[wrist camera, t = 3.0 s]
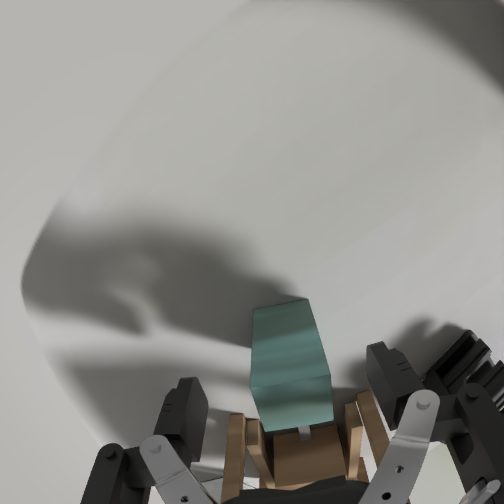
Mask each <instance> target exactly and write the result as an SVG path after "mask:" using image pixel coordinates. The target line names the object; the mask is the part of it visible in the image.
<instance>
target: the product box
mask: <svg viewBox="0 0 504 504" xmlns="http://www.w3.org/2000/svg"><path fill="white" fill-rule="evenodd" d="M222 483H223V478H219V479H215V480H211V481H207V482H202V485H203V486H204V487H205V489H206V490H207V491H208V492H209V494H210V495H211V496H212V497H213V498H214V499H215V500H216V502H217V503H218V504H220V502H221V493H222ZM243 489H256V488H253V487H251V486H248V485H246V484H244V483H243Z"/></svg>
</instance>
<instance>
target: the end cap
mask: <svg viewBox="0 0 504 504" xmlns="http://www.w3.org/2000/svg"><path fill="white" fill-rule="evenodd" d="M491 352H492V351H491V349H490V348H489V347H488V346H487V345H486V344H485V343H484V342H483V341H482V340H481V339H480V338H479V339H478V338H477V336H476V335H475V334H474V333H473V332H472V331H471V330H469V331H467V332H465V333H464V334H463V335H462V336H461V337H460V339H459V340H458V341H457V342H456V343H455V344H454V345H453V346H452V347H451V348H450V349H449V350H448V351H447V352H446V353H445V354H444V355H443V356H442V357H441V358H440V359H439V360H438V361H437V362H436V363H435V364H434V365H433V366H432V368H431V369H430V370H429V371H428V373H427V375H426V378H425V380H424V382H423V385H424V387H425V388H426V390H430V391H433V392H435V393H436V394H437V395H438V396H445V395H452V394H458V391H459V389H460V388H461V387H462V386H463V385H465V384H468V383H477V384H480V385H481V386H483V387H484V388H485V390H486V391H487V393H488V394H489V396H490V397H491V399H492V400H493V402H494V403H495V405H496V406H497V408H498V410H500V409H501V408H502V407H503V406H504V364H503V362H502V361H501V360H499V362H498V363H497V364H496V365H494V363H493V361H492V360H491V358H490V353H491ZM500 413H501V414H502V416H503V418H504V408H503V409H502V410H501V411H500ZM439 442H441V443H444V444H446V442H445V440H442V441H439Z"/></svg>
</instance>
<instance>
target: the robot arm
mask: <svg viewBox="0 0 504 504" xmlns="http://www.w3.org/2000/svg"><path fill="white" fill-rule="evenodd" d="M366 371H367V377H368V380H369V383H370V385H371V387H372V389H373V392H374V394H375V396H376V398H377V401H378V403H379V405H380V408H381V410H382V412H383V415H384V417H385V419H386V422H387V424H388V427H389V429H390V431H392V430H395V429H397V431H396V433H395V435H394V437H393V438H392V439H391V441H390V444H389V446H388V448H387V450H386V452H385V454H384V457H383V459H382V461H381V463H380V465H379V467H378V469H377V471H376V473H375V475H374V477H373V479H372V480H371V482H370V483H368V482H364V481H358V480H346V477H345V475H341V476H336V477H332V478H327V479H323V480H318V481H316V482H313V483H311V484H308V485H306V486H303V487H300V488H298V489H295V490H280V489H270V488H258V489H243V490H239V496H236V497H233V498H230V499H228V500H226V501H224V502H223V503H221V504H409V503H407V500H408V498H409V496H410V494H411V491H412V489H413V487H414V484H415V482H416V480H417V477H418V475H419V472H420V469H421V467H422V464H423V461H424V458H425V456H426V453H427V450H428V447H429V442H435V441H442V440H445V442H446V445H447V447H448V449H449V452H450V454H451V456H452V459H453V461H454V464H455V466H456V469H457V471H458V474H459V476H460V479H461V482H462V484H463V487H464V490H465V492H466V495H465V496H464V497H463V498H462V499H461V501H460V503H459V504H504V418H503V416H502V414H501V413H500V411H499V410H498V408H497V406H496V405H495V403H494V402H493V400H492V399H491V397H490V396H489V394H488V393H487V391H486V390H485V388H484V387H483V386H481V385H480V384H477V383H468V384H465V385H463V386H462V387H461V388H460V389H459V391H458V394H452V395H445V396H438V395H437V394H436V393H435V392H433V391H430V390H426V388H425V387H424V385H423V384H422V382H421V381H420V379H419V377H418V376H417V374H416V373H415V371H414V370H413V368H412V367H411V365H410V363H409V362H408V360H407V359H406V357H405V356H404V354H403V353H401V352H400V351H398V350H397V349H395V348H394V349H391V350H388V348H387V347H386V345H385V344H384V342H383V341H381V342H378V343H374V344H371V345H368V346H367V362H366ZM207 414H208V401H207V397H206V395H205V393H204V391H203V389H202V387H201V385H200V382H199V380H198V378H197V377H187V378H181V379H180V380H179V383H178V386H177V388H176V389H172V390H171V391H170V392H169V393H168V394H167V395H166V397H165V400H164V403H163V406H162V409H161V412H160V415H159V418H158V421H157V424H156V427H155V430H154V433H153V435H152V436H149V437H147V438H146V439H144V440H143V442H142V443H141V445H140V446H139V447H134V448H129V449H123V448H122V447H121V446H120V445H119V444H116V443H110V444H107V445H105V446H103V447H102V448H101V449H100V451H99V452H98V455H97V457H96V460H95V463H94V466H93V468H92V471H91V474H90V477H89V480H88V482H87V485H86V488H85V491H84V494H83V497H82V500H81V503H80V504H148V501H149V495H150V490H151V486H155V487H156V489H157V491H158V493H159V494H160V496H161V498H162V500H163V501H164V503H165V504H218V503H217V502H216V500H215V499H214V498H213V497H212V496H211V495H210V494H209V492H208V491H207V490H206V489H205V487H204V486H203V485H202V483H201V482H200V481H199V480H198V478H197V477H196V476H195V474H194V473H193V472H192V470H191V469H190V465H191V462H199V461H200V455H201V449H202V443H203V437H204V431H205V425H206V420H207Z"/></svg>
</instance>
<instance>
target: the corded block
mask: <svg viewBox="0 0 504 504" xmlns="http://www.w3.org/2000/svg"><path fill="white" fill-rule="evenodd" d="M250 390H251V393H252V396H253V399H254V402H255V405H256V408H257V410H258V413H259V416H260V419H261V422H262V425H263V427H264V430H265V432H266V431H274V430H281V429H288V428H295V427H298V429H299V432H294V433H288V434H281V435H273V437H274V475H275V489H280V490H295V489H298V488H300V487H303V486H306V485H308V484H311V483H313V482H316V481H318V480H323V479H327V478H332V477H336V476H341V475H345V477H346V480H347V471H346V466H345V461H344V457H343V452H342V448H341V443H340V439H339V434H338V430H337V426H336V425H332V426H327V427H322V428H317V429H312V430H310V427H309V425H312V424H317V423H322V422H327V421H332V420H334V419H333V401H332V385H331V373H330V370H329V366H328V363H327V360H326V356H325V353H324V349H323V346H322V343H321V339H320V336H319V332H318V329H317V326H316V323H315V319H314V316H313V313H312V310H311V306H310V303H309V300H308V299H305V300H300V301H295V302H290V303H285V304H280V305H275V306H269V307H264V308H258V309H254V310H253V331H252V353H251V373H250Z"/></svg>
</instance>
